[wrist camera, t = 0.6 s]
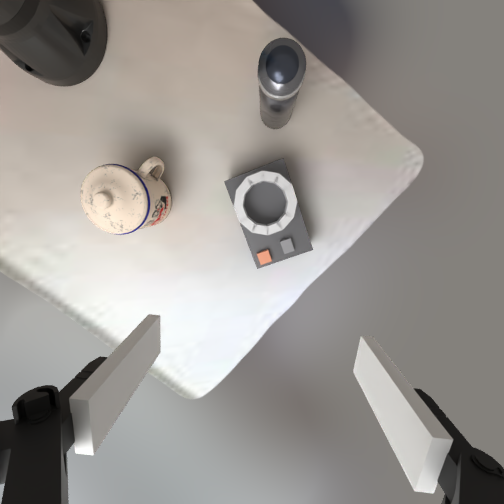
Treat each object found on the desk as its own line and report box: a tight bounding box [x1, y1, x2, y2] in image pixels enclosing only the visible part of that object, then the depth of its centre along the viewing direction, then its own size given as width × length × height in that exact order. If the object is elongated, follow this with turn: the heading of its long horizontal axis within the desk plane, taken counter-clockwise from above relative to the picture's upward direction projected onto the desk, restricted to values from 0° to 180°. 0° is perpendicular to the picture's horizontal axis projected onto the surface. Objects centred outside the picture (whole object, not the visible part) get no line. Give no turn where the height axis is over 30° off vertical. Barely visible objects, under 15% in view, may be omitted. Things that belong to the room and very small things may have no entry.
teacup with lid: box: [81, 157, 171, 234], centre depth 34 cm, size 12×9×12 cm
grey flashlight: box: [258, 38, 306, 129], centre depth 29 cm, size 5×5×13 cm
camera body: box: [224, 158, 313, 269], centre depth 36 cm, size 14×9×6 cm, turn 20°
